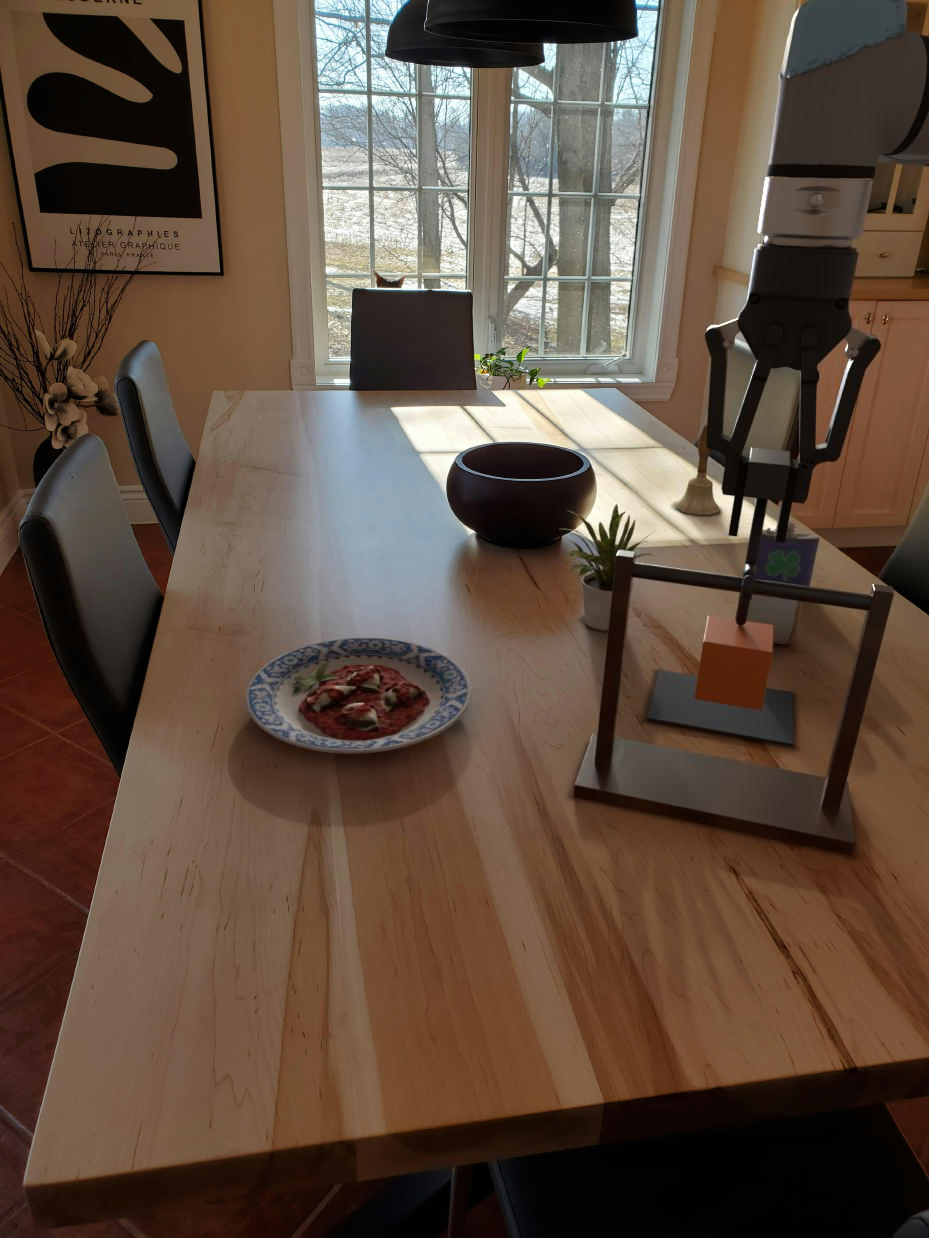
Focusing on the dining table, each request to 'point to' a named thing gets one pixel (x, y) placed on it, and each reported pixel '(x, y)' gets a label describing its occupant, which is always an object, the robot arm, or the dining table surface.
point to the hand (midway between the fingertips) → (756, 533)
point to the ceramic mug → (776, 616)
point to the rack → (720, 784)
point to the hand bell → (699, 486)
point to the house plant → (601, 581)
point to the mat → (721, 711)
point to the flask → (787, 557)
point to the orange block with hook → (744, 606)
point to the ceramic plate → (358, 695)
